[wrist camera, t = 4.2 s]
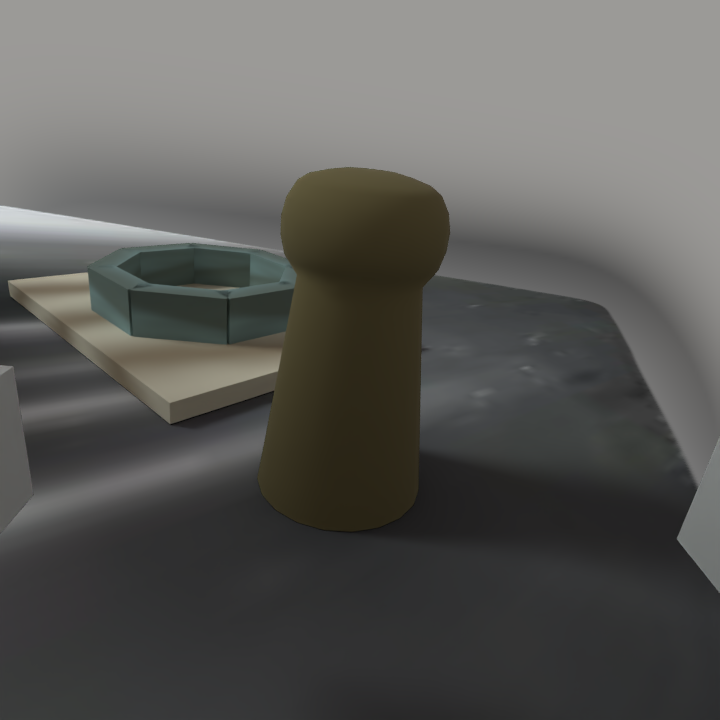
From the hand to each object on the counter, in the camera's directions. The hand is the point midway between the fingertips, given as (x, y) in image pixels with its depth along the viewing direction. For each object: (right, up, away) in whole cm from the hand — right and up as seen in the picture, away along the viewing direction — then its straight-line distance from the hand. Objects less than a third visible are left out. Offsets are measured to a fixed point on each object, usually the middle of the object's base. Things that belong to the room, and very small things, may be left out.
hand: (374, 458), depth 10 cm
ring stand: (-10, +4, +24) cm, 26 cm away
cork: (-1, -3, +10) cm, 11 cm away
